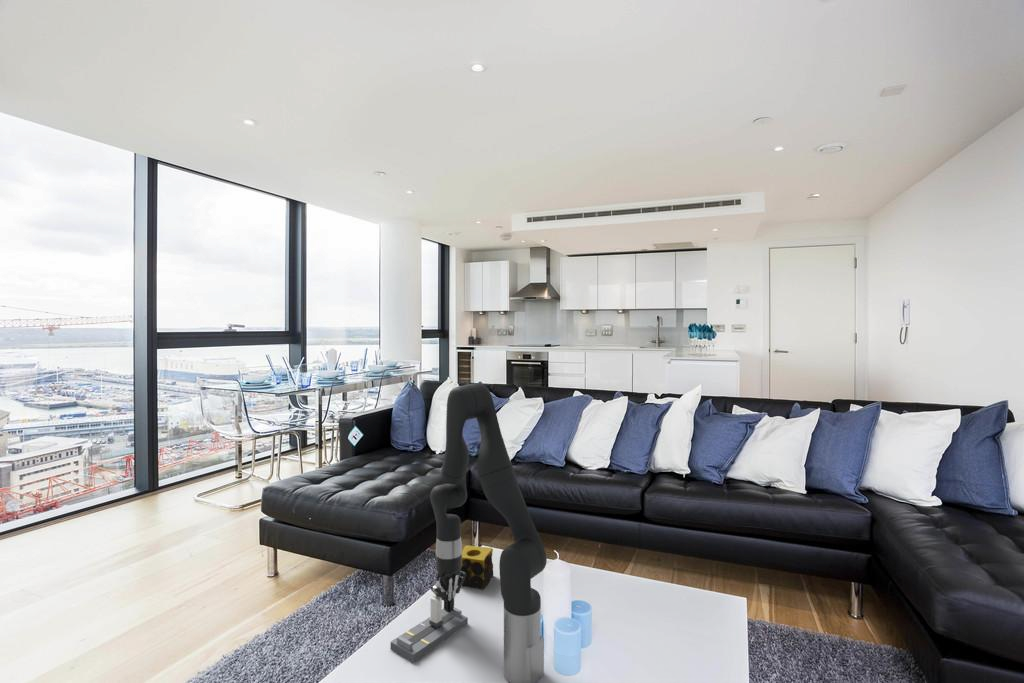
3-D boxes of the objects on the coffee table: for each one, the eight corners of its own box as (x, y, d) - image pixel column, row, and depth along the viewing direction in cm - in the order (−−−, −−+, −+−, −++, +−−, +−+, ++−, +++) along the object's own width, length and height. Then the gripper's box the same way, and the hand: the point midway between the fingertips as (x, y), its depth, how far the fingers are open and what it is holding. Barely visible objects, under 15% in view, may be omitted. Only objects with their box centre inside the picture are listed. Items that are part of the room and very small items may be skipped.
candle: (493, 575, 176) (493, 547, 176) (484, 590, 166) (484, 560, 166) (466, 572, 179) (466, 544, 179) (455, 586, 169) (455, 556, 169)
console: (467, 624, 147) (467, 612, 147) (413, 662, 130) (413, 648, 130) (445, 613, 153) (445, 601, 153) (390, 648, 136) (390, 635, 136)
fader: (442, 623, 143) (442, 597, 143) (436, 627, 141) (436, 601, 141) (435, 620, 145) (435, 594, 145) (429, 623, 143) (429, 597, 143)
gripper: (441, 564, 139) (441, 626, 140) (473, 547, 150) (473, 605, 150) (423, 556, 144) (423, 616, 144) (455, 541, 154) (455, 597, 155)
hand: (449, 610), depth 147 cm, fingers closed
